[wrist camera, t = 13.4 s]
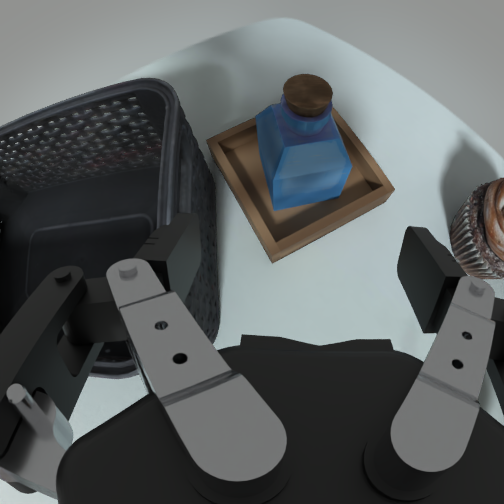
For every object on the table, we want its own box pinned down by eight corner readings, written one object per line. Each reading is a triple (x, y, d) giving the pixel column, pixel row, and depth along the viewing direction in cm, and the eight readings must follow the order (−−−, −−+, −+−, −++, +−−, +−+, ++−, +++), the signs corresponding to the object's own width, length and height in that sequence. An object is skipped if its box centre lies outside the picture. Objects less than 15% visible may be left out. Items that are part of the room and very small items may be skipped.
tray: (211, 156, 32) (206, 140, 29) (317, 109, 33) (319, 91, 30) (272, 263, 29) (271, 255, 26) (385, 202, 30) (395, 189, 27)
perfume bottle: (273, 211, 29) (271, 136, 18) (259, 154, 31) (250, 66, 19) (338, 197, 29) (370, 121, 18) (319, 142, 31) (336, 56, 19)
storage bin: (-3, 346, 29) (-87, 339, 16) (10, 197, 34) (-58, 153, 21) (222, 360, 27) (178, 383, 14) (216, 160, 32) (184, 67, 19)
